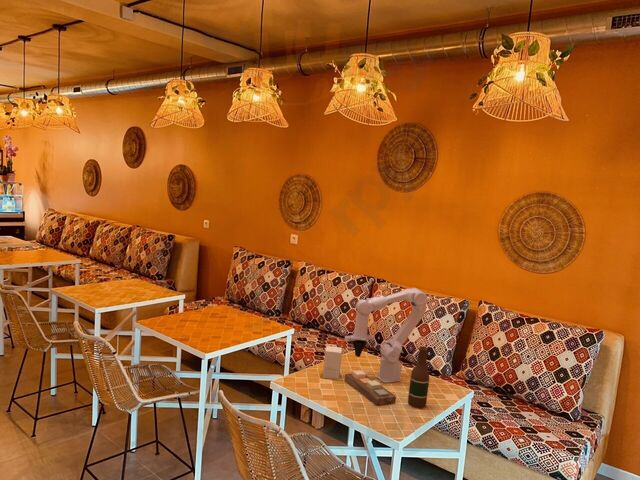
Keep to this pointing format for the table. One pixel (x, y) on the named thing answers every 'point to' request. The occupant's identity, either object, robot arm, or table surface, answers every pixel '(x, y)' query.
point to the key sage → (373, 385)
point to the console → (368, 393)
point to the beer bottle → (419, 381)
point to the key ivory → (358, 374)
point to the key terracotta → (364, 380)
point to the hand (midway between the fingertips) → (357, 356)
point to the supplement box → (332, 362)
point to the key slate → (381, 393)
